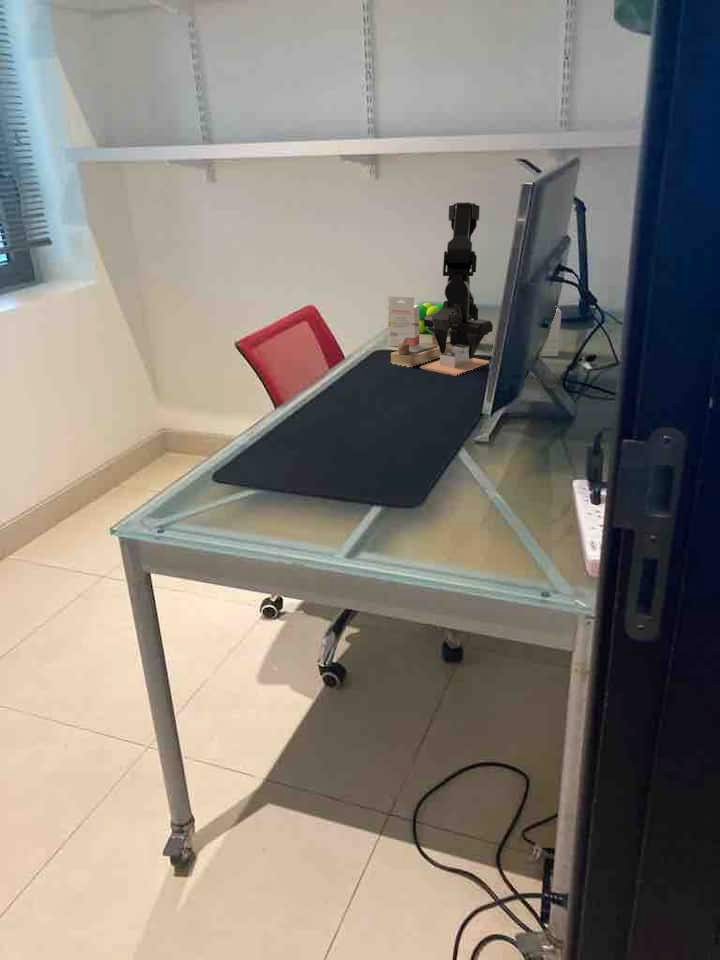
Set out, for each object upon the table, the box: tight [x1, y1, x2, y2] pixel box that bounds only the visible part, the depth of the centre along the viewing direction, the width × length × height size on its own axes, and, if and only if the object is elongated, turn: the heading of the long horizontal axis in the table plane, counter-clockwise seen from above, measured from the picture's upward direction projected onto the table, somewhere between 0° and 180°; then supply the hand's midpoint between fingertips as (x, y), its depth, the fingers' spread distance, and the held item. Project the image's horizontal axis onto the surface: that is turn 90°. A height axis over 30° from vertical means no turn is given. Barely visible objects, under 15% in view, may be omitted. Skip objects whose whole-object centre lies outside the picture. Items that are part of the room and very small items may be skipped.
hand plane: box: [390, 333, 452, 368], centre depth 211 cm, size 18×7×6 cm, turn 137°
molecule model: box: [418, 302, 443, 335], centre depth 243 cm, size 9×9×9 cm
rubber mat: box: [419, 357, 490, 377], centre depth 205 cm, size 16×12×1 cm
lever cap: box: [439, 344, 474, 368], centre depth 204 cm, size 8×5×4 cm, turn 137°
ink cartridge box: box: [387, 296, 420, 347], centre depth 226 cm, size 9×5×15 cm, turn 68°
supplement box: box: [541, 306, 562, 357], centre depth 212 cm, size 7×7×13 cm
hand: (456, 355), depth 204 cm, fingers open, 9 cm apart
